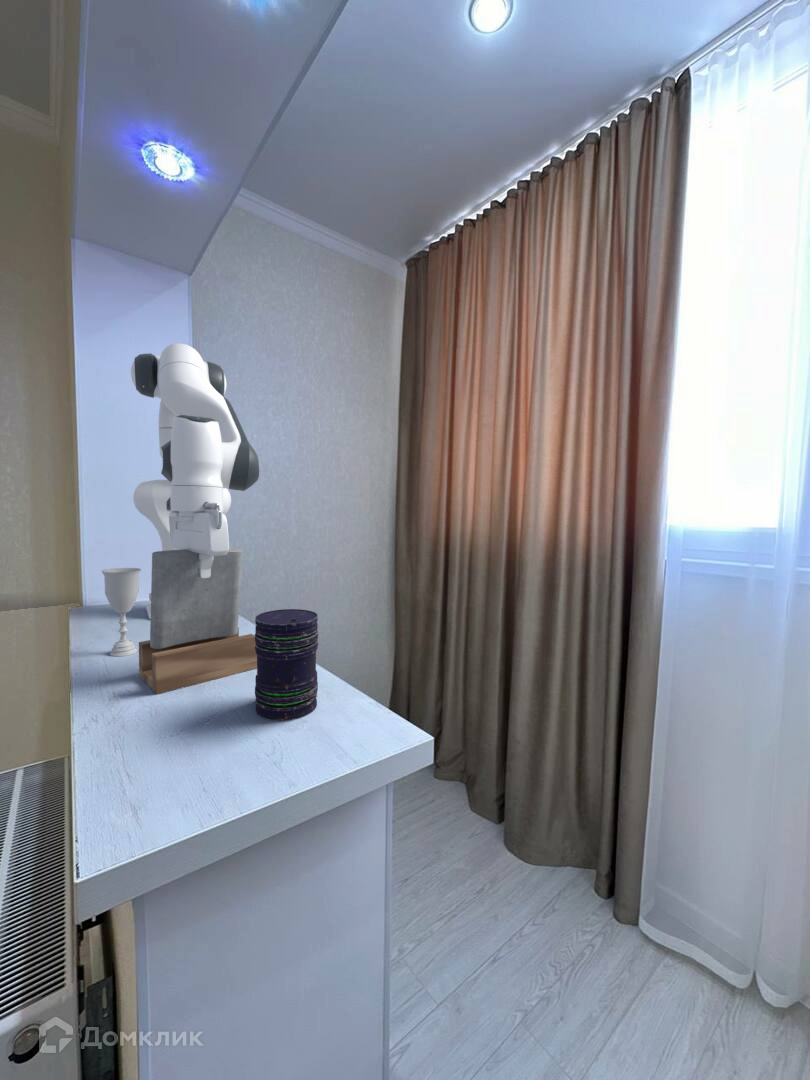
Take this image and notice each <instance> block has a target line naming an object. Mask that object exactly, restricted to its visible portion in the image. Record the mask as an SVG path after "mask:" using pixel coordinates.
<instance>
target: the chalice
mask: <svg viewBox="0 0 810 1080" xmlns="http://www.w3.org/2000/svg"><path fill="white" fill-rule="evenodd" d="M141 570H142V569H141V568H138V567H119V568H118V567H116V568H107V569H106V568H105V569H102V570H101V573H102V575H103V576H104V594H105V597H106V599H107V601H108V603H109V605H110V606H111V608H112V609H113V611H114V612H115V613H117V614H119V617H120V618H119V621H118V624H119V625H120V626H119V627H120V628H119V630H118V633H120V638H119V640H118V641H116V642H115V643H114V644H113V647H112V648H111V652H110V653H109V656H110V657H126V656H130V655H134V654H136V653H137V652H138V649H137V648H136V645H135V644H134V643H135V642H133V641H132V640H129V639H128V638H127V632H128V631H129V629H128V628H127V627H126V625H127V623H128V620H127V618H126V615H127V613H129V612H131V610H132V609H133V606H134V604H135V602H136V601H137V599H138V598H137V597H138V595H139V592H140V584H139V583H140V582H139V581H140V580H139V578H140V577H139V574H140V573H141Z"/></svg>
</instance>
